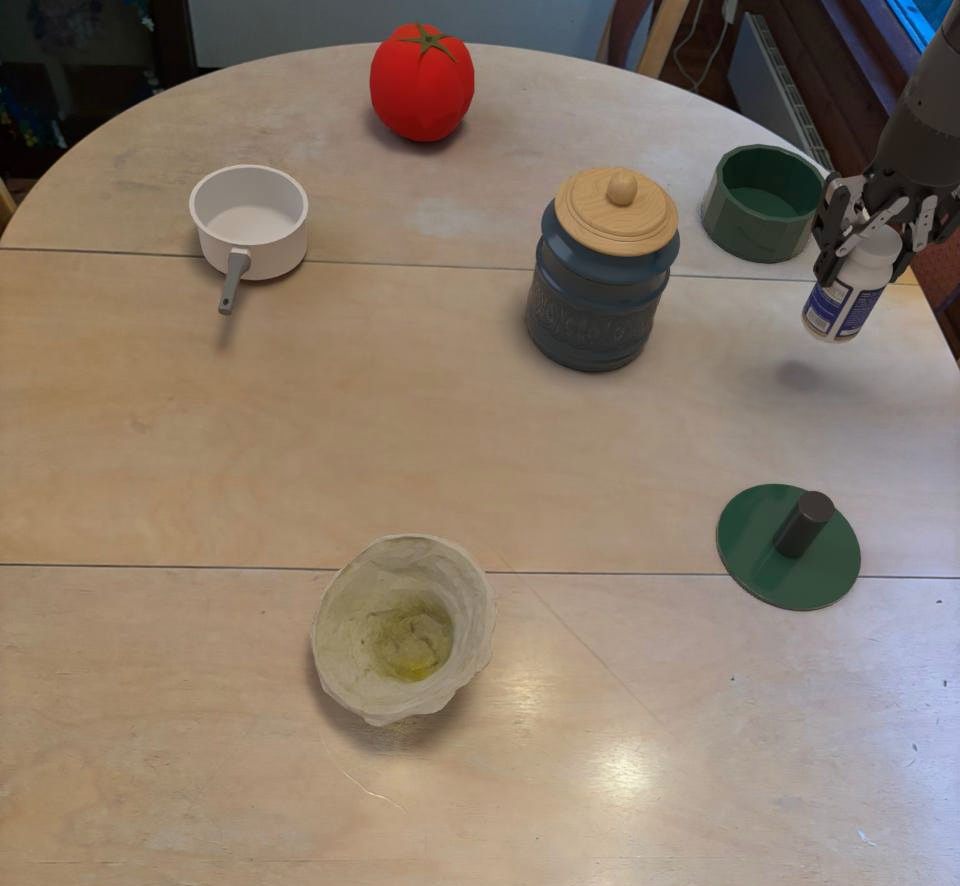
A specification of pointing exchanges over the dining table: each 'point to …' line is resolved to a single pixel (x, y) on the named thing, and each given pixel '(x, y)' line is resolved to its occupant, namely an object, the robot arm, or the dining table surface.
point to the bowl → (403, 627)
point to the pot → (762, 203)
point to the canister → (601, 267)
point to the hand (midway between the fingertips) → (854, 278)
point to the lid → (788, 546)
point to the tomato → (421, 82)
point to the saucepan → (249, 224)
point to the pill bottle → (852, 289)
